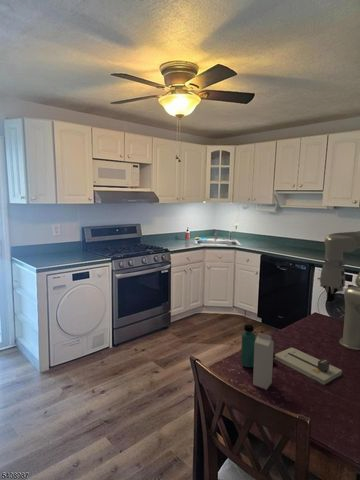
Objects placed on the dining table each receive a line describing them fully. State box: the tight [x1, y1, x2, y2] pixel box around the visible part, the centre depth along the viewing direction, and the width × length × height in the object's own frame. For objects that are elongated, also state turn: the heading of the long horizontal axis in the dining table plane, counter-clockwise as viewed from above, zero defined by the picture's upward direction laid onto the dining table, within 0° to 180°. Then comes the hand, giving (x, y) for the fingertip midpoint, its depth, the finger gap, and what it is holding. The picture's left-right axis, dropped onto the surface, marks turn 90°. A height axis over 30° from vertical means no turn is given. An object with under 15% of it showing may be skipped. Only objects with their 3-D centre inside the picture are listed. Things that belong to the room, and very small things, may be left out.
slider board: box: [273, 347, 343, 386], centre depth 146 cm, size 14×26×2 cm, turn 35°
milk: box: [252, 332, 275, 391], centre depth 130 cm, size 6×6×22 cm
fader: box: [318, 358, 330, 372], centre depth 139 cm, size 4×3×4 cm
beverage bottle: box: [240, 323, 257, 368], centre depth 144 cm, size 6×7×20 cm
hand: (330, 300), depth 150 cm, fingers closed
